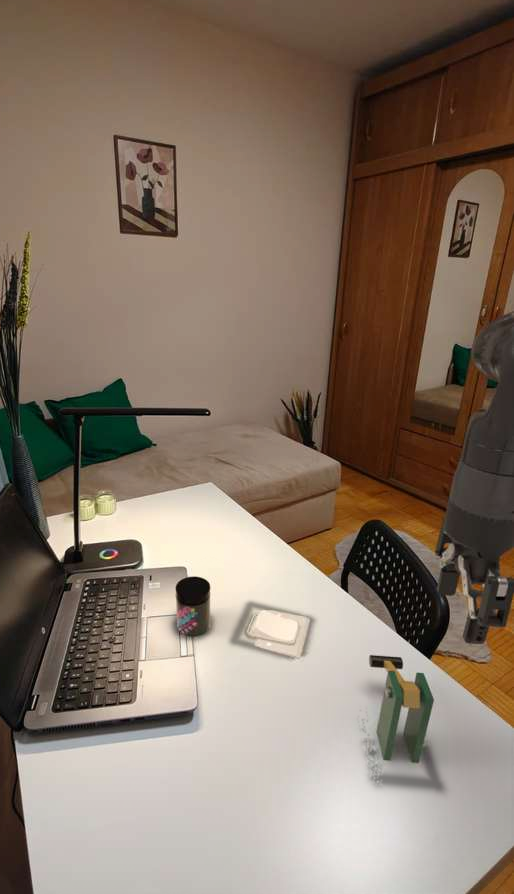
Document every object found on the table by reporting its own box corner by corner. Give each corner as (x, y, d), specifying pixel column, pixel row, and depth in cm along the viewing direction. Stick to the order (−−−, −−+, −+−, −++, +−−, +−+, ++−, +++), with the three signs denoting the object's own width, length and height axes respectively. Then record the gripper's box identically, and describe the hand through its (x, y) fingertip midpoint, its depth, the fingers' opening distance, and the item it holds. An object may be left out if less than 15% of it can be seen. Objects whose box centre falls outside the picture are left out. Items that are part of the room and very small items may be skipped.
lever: (368, 666, 74) (369, 651, 74) (399, 668, 73) (399, 653, 73) (392, 706, 60) (393, 688, 60) (430, 709, 60) (430, 691, 60)
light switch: (250, 596, 93) (310, 607, 89) (250, 612, 94) (310, 624, 90) (233, 632, 83) (300, 646, 79) (234, 649, 85) (300, 664, 81)
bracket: (361, 719, 71) (372, 654, 66) (412, 723, 70) (427, 657, 65) (375, 786, 62) (390, 715, 57) (434, 791, 61) (454, 720, 56)
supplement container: (175, 620, 91) (173, 578, 87) (207, 615, 92) (207, 574, 89) (178, 644, 85) (177, 601, 81) (213, 639, 86) (213, 596, 82)
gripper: (560, 536, 43) (518, 663, 48) (491, 476, 56) (465, 581, 62) (480, 532, 43) (448, 658, 49) (430, 473, 56) (410, 578, 62)
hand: (457, 615), depth 55 cm, fingers open, 8 cm apart
